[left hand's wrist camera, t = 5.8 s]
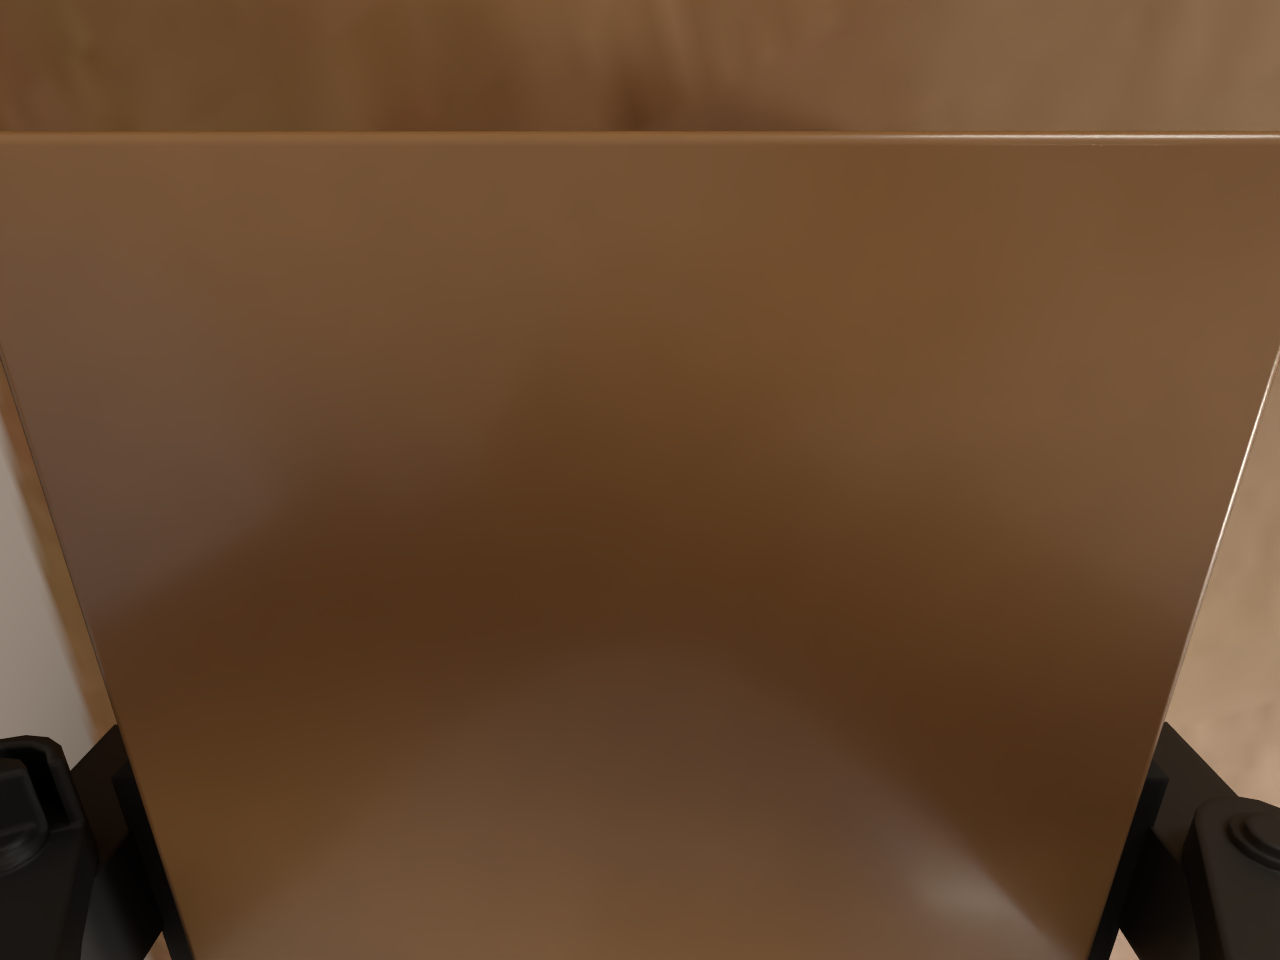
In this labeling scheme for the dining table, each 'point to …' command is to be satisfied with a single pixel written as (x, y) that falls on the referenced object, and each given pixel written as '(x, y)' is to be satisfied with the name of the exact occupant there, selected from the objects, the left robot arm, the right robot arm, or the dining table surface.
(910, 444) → the long beam
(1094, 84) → the dining table surface
